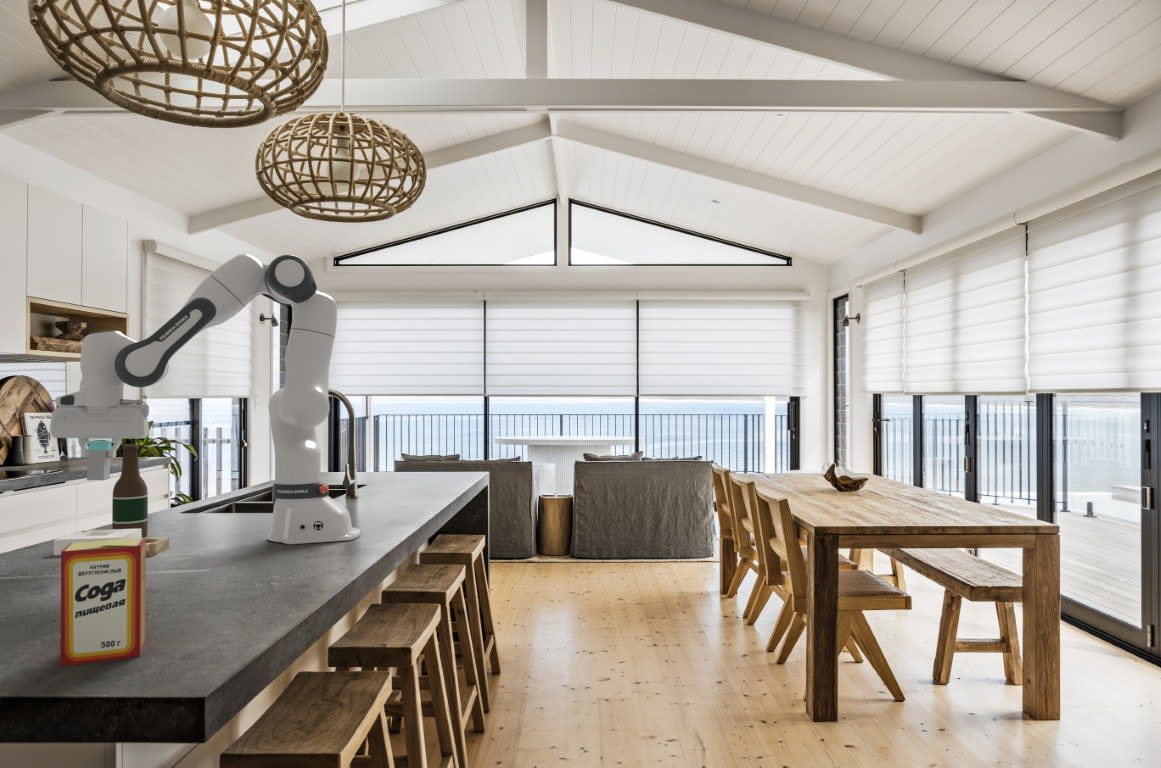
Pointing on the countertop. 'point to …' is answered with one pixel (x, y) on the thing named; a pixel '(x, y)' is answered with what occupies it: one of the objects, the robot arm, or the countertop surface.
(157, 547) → the square wooden tray
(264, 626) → the countertop surface
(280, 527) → the robot arm
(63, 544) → the port
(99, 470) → the plug
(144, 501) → the beer bottle
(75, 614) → the baking soda box
